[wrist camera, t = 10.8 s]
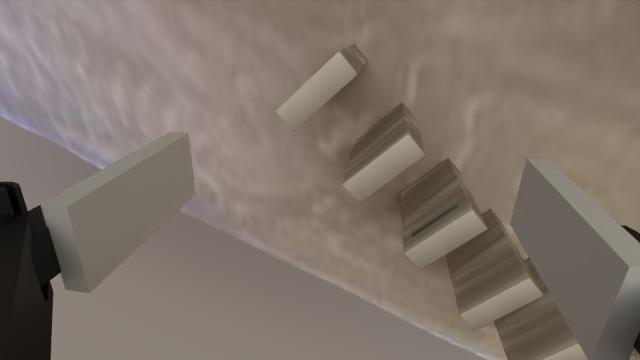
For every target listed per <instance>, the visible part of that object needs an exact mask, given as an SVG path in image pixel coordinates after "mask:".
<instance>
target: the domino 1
mask: <svg viewBox="0 0 640 360" xmlns="http://www.w3.org/2000/svg"><path fill="white" fill-rule="evenodd" d="M366 62H367V59H366V58H365V57H364V55H363V54H362V53H361V52H360V51H359V49H358V48H357V47H356V46H355V45H352V46H349V47H347V48H345V49H343V50H341V51H339V52H338V53H337V54H336V55H334V56H333V57H332V58H331V59H330V60H329V61H328V62H327V63H326V64H325V65H324V66H323V67H322V68H321V69H320V70H319V71H318V72H316V73H315V74H314V75H313V76H312V77H311V78H310V79H309V80H308V81H307V82H306V83H305V84H304V85H303V86H302V87H301V88H300V89H298V90H297V91H296V92H295V93H294V94H293V95H292V96H291V97H290V98H289V99H288V100H287V101H286V102H285V103H284V104H283V105H282V106H280V107H279V108H278V109H277V110H276V112H277V113H278V115H279V116H280V117H281V118H282V119H283V120H284V121H285V122H286V123H287V124H288V126H289V127H290V128H291V129H292V130H293V131H295V130H296V129H297V128H298V127H299V126H301V125H302V124H303V123H304V122H305V121H306V120H307V119H308V118H309V117H311V116H312V115H313V114H314V113H315V112H316V111H317V110H318V109H320V108H321V107H322V106H323V105H324V104H325V103H326V102H327V101H328V100H330V99H331V98H332V97H333V96H334V95H335V94H336V93H337V92H339V91H340V90H341V89H342V88H343V87H344V86H345V85H346V84H347V83H349V82H350V81H351V80H352V79H353V78H354V77H355V76H356V75H358V73H359V72H360V70H361V69H362V67H363V66H364V65H365V63H366Z"/></svg>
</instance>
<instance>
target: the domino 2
mask: <svg viewBox="0 0 640 360" xmlns="http://www.w3.org/2000/svg"><path fill="white" fill-rule="evenodd" d="M423 156H425V152H424V148H423V144H422V141H421V137H420V134H419V130H418V126H417V123H416V119H415V117H414V116H413V115H412V113H411V112H410V111H409V110H408V109H407V107H406V106H405V105H404V104H403V103H402V104H400V105H399V106H398V107H397V108H396V109H394V110H393V111H392V112H391V113H389V114H388V115H387V116H386V117H384V118H383V119H382V120H381V121H380V122H378V123H377V124H376V125H375V126H373V127H372V128H371V129H370V130H368V131H367V132H366V133H365V134H364V135H362V136H361V137H360V138H359V139H357V140H356V141H355V144H354V148H353V151H352V154H351V158H350V161H349V164H348V168H347V171H346V174H345V178H344V181H343V184H342V185H343V186H344V187H345V188H346V190H347V191H348V192H349V193H350V194H351V195H352V196H353V197H354V198H355V199H356V201H357V202H358V203H361V202H362V201H363V200H365V199H366V198H367V197H369V196H370V195H371V194H373V193H374V192H376V191H377V190H378V189H380V188H381V187H382V186H384V185H385V184H386V183H388V182H389V181H391V180H392V179H393V178H395V177H396V176H397V175H399V174H400V173H401V172H403V171H404V170H406V169H407V168H408V167H410V166H411V165H412V164H414V163H415V162H416V161H418V160H419V159H421V158H422V157H423Z"/></svg>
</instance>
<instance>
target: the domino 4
mask: <svg viewBox="0 0 640 360" xmlns="http://www.w3.org/2000/svg"><path fill="white" fill-rule="evenodd" d="M481 216H482V218H483V220H484V222H485V224H486V226H487V228H488V229H487V230H485V231H484V232H482V233H480V234H479V235H477V236H475V237H474V238H472V239H470V240H469V241H467V242H465V243H464V244H462V245H461V246H459V247H457V248H456V249H454V250H452V251H451V252H449V253H447V254H446V259H447V263H448V268H449V272H450V276H451V280H452V284H453V288H454V292H455V296H456V301H457V305H458V309H459V313H460V315H461V316H462V318H463V319H464V320H465V321H466V322H467V323H468V324H469V325H470V326H471V328H472V329H473V330H474V331H475V330H477V329H478V328H480V327H482V326H484V325H486V324H488V323H490V322H492V321H494V320H496V319H498V318H500V317H502V316H504V315H506V314H508V313H510V312H512V311H514V310H516V309H518V308H520V307H522V306H524V305H526V304H528V303H530V302H532V301H534V300H536V299H538V298H540V297H542V296H544V295H543V293H542V292H541V290H540V288H539V286H538V285H537V283H536V281H535V279H534V278H533V276H532V274H531V272H530V271H529V269H528V267H527V265H526V264H525V262H524V260H523V259H522V257H521V255H520V253H519V252H518V250H517V248H516V246H515V245H514V243H513V241H512V239H511V238H510V236H509V234H508V232H507V231H506V229H505V227H504V225H503V224H502V222H501V221H500V220H499V218H498V217H497V216H496V215H495V213H494V212H493V211H492V210H491V209H490V210H488V211H487V212H485V213H483V214H482V215H481Z"/></svg>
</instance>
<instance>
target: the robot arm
mask: <svg viewBox="0 0 640 360" xmlns="http://www.w3.org/2000/svg"><path fill="white" fill-rule="evenodd" d="M194 195H195V186H194V177H193V169H192V160H191V152H190V143H189V135H188V133H176V132H170V133H168V134H167V135H165V136H163V137H161V138H159V139H158V140H156V141H154V142H152V143H150V144H148V145H147V146H145V147H143V148H141V149H139V150H138V151H136V152H134V153H132V154H130V155H128V156H127V157H125V158H123V159H121V160H119V161H118V162H116V163H114V164H112V165H110V166H108V167H107V168H105V169H103V170H101V171H99V172H98V173H96V174H94V175H92V176H90V177H89V178H87V179H85V180H83V181H81V182H79V183H77V184H76V185H74V186H72V187H70V188H68V189H67V190H65V191H63V192H61V193H59V194H57V195H56V196H54V197H52V198H50V199H48V200H47V201H45V202H43V203H41V204H40V205H39V206H38V207H36V208H33V209H32V210H30V211H27V207H26V204H25V201H24V198H23V195H22V192H21V188H20V186H19V184H17V183H14V182H0V360H50V359H51V335H52V334H51V333H52V310H53V289H52V286H51V283H50V280H51V279H52V278H54V277H55V276H56V275H57V274H59V273H60V272H61V276H62V279H63V282H64V285H65V289H66V290H73V291H80V292H87V293H90V292H91V291H92V290H93V289H95V288H96V287H97V286H98V285H99V284H100V283H101V282H102V281H103V280H104V279H105V278H106V277H107V276H108V275H109V274H110V273H112V272H113V271H114V270H115V269H116V268H117V267H118V266H119V265H120V264H121V263H122V262H123V261H124V260H125V259H126V258H127V257H129V256H130V254H132V253H133V252H134V251H135V250H136V249H137V248H138V247H139V246H140V245H141V244H143V243H144V242H145V241H146V240H147V239H148V238H149V237H150V236H151V235H152V234H153V233H154V232H155V231H156V230H157V229H158V228H160V227H161V226H162V225H163V224H164V223H165V222H166V221H167V220H168V219H169V218H170V217H171V216H172V215H173V214H174V213H175V212H177V211H178V210H179V209H180V208H181V207H182V206H183V205H184V204H185V203H186V202H187V201H188V200H189V199H190V198H192V197H193V196H194ZM510 225H511V226H512V228H513V230H514V232H515V233H516V235H517V237H518V239H519V240H520V242H521V244H522V246H523V247H524V249H525V251H526V253H527V254H528V256H529V258H530V260H531V261H532V263H533V265H534V267H535V268H536V270H537V272H538V274H539V275H540V277H541V279H542V280H543V282H544V284H545V286H546V287H547V289H548V291H549V293H550V294H551V296H552V298H553V300H554V301H555V303H556V305H557V307H558V308H559V310H560V312H561V314H562V315H563V317H564V319H565V321H566V322H567V324H568V326H569V328H570V329H571V331H572V333H573V335H574V336H575V338H576V340H577V342H578V343H579V345H580V347H581V349H582V350H583V352H584V354H585V355H586V357H587V359H588V360H629V358H630V356H631V354H632V352H633V349H634V348H635V349H636V350H637V352H638V353H639V354H640V233H638V232H636V231H635V230H633V229H631V228H629V227H627V226H623V225H620V224H619V223H617V222H616V221H615V220H614V219H613V218H612V217H611V216H610V215H609V214H608V213H607V212H605V211H604V210H603V209H602V208H601V207H600V206H599V205H598V204H597V203H596V202H595V201H593V200H592V199H591V198H590V197H589V196H588V195H587V194H586V193H585V192H584V191H583V190H582V189H580V188H579V187H578V186H577V185H576V184H575V183H574V182H573V181H572V180H571V179H570V178H568V177H567V176H566V175H565V174H564V173H563V172H562V171H561V170H560V169H559V168H558V167H556V166H555V165H554V164H553V163H552V162H551V161H550V160H544V159H530V158H527V160H526V164H525V168H524V172H523V175H522V179H521V183H520V187H519V191H518V195H517V199H516V203H515V207H514V211H513V215H512V219H511V223H510Z"/></svg>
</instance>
